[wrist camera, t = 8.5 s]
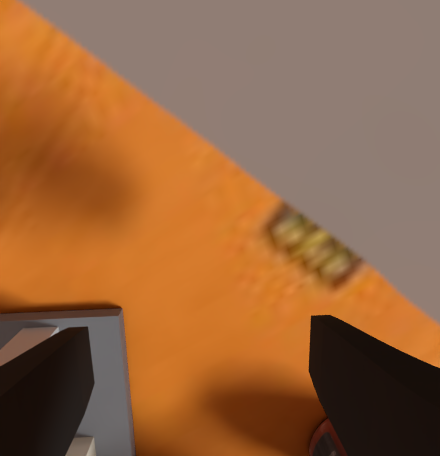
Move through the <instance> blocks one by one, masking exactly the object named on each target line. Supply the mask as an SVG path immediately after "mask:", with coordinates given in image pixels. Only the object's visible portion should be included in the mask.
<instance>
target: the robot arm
mask: <svg viewBox="0 0 440 456" xmlns="http://www.w3.org/2000/svg"><path fill="white" fill-rule="evenodd" d="M309 373H310V376H311V379H312V382H313V385H314V387H315V390H316V393H317V395H318V398H319V401H320V403H321V405H322V407H323V409H324V411H325V413H326V415H327V416H328V418H329V420H330V422H331V424H332V426H333V428H334V430H335V432H336V434H337V436H338V438H339V440H340V442H341V444H342V445H343V447H344V449H345V451H346V453H347V455H348V456H440V368H438V367H435V366H433V365H430V364H428V363H426V362H423V361H421V360H419V359H417V358H415V357H413V356H410V355H408V354H406V353H404V352H402V351H400V350H398V349H396V348H394V347H392V346H390V345H388V344H386V343H384V342H382V341H380V340H378V339H376V338H374V337H372V336H370V335H368V334H367V333H365V332H363V331H361V330H359V329H357V328H355V327H353V326H352V325H350V324H348V323H346V322H344V321H342V320H340V319H338V318H336V317H333V316H331V315H317V316H311V330H310V353H309ZM94 384H95V381H94V373H93V364H92V356H91V347H90V339H89V330H88V326H86V327H68V328H66V329H64V330H62V331H60V332H58V333H56V334H54V335H52V336H51V337H49V338H47V339H46V340H44V341H42V342H41V343H39V344H37V345H36V346H34V347H32V348H31V349H29V350H27V351H25V352H24V353H22V354H20V355H19V356H17V357H15V358H14V359H12V360H10V361H9V362H7V363H5V364H3V365H1V366H0V456H65V455H66V453H67V451H68V449H69V447H70V445H71V443H72V441H73V439H74V436H75V434H76V432H77V430H78V428H79V426H80V424H81V421H82V419H83V417H84V415H85V412H86V409H87V406H88V403H89V400H90V397H91V394H92V390H93V387H94Z"/></svg>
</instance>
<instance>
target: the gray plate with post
mask: <svg viewBox="0 0 440 456" xmlns="http://www.w3.org/2000/svg"><path fill="white" fill-rule="evenodd" d="M86 326H88V330H89V339H90V347H91V356H92V364H93V373H94V381H95V384H94V387H93V390H92V394H91V397H90V400H89V403H88V406H87V409H86V412H85V415H84V417H83V419H82V421H81V424H80V426H79V428H78V430H77V432H76V434H75V436H74V438H80V437H94V442H95V450H96V456H136V451H135V440H134V429H133V418H132V407H131V396H130V385H129V374H128V363H127V352H126V341H125V330H124V319H123V308H117V309H94V310H72V311H50V312H27V313H5V314H0V366H1V365H3V364H5V363H7V362H9V361H10V360H12V359H14V358H15V357H17V356H19V355H20V354H22V353H24V352H25V351H27V350H29V349H31V348H32V347H34V346H36V345H37V344H39V343H41V342H42V341H44V340H46V339H47V338H49V337H51V336H52V335H54V334H56V333H58V332H60V331H62V330H64V329H66V328H68V327H86Z"/></svg>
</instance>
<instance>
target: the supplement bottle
mask: <svg viewBox="0 0 440 456" xmlns="http://www.w3.org/2000/svg"><path fill="white" fill-rule="evenodd" d="M309 451H310V452H309V454H310V456H348V455H347V453H346V451H345V449H344V447H343V445H342V444H341V442H340V440H339V438H338V436H337V434H336V432H335V430H334V428H333V426H332V424H331V422H330V420H329V418H328V419H326V420H325V421H324V422H322V423H321V424H320V426H319V427H318V428H317V429H316V431H315V433H314V434H313V437H312V439H311V442H310V450H309Z"/></svg>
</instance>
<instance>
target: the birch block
mask: <svg viewBox="0 0 440 456" xmlns="http://www.w3.org/2000/svg"><path fill="white" fill-rule="evenodd" d="M65 456H96V450H95V442H94V437H80V438H74V439H73V441H72V443H71V445H70V447H69V449H68V451H67V453H66V455H65Z"/></svg>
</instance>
